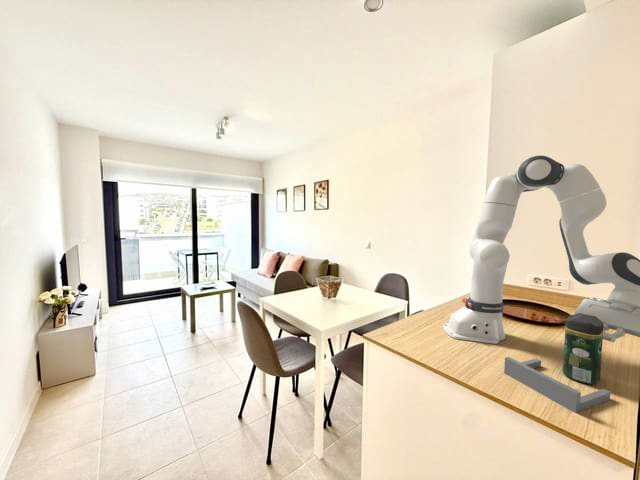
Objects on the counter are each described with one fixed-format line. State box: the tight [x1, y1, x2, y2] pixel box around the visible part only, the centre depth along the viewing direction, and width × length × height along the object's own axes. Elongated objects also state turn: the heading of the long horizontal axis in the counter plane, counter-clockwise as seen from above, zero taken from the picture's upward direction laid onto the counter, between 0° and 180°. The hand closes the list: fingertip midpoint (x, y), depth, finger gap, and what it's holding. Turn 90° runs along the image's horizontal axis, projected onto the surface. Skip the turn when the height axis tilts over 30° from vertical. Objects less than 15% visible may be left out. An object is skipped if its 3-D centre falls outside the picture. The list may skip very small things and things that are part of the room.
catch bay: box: [503, 356, 612, 414], centre depth 76 cm, size 14×18×5 cm
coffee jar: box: [562, 313, 604, 385], centre depth 80 cm, size 10×8×19 cm
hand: (606, 339), depth 84 cm, fingers closed
